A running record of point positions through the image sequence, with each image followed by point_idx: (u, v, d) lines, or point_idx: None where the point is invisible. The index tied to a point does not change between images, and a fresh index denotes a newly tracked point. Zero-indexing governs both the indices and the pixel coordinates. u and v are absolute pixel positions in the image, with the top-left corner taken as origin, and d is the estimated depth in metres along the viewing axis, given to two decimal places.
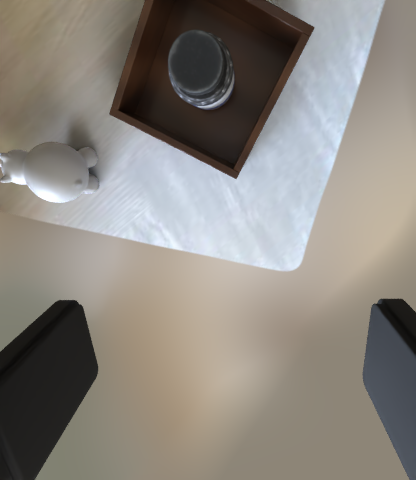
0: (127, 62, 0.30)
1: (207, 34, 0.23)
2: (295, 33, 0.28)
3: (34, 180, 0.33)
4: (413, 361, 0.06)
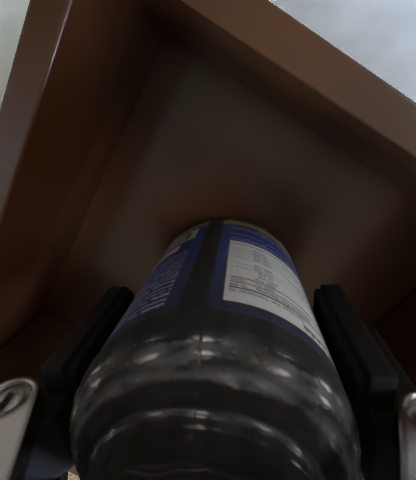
0: None
1: None
2: None
3: None
4: (333, 334, 0.07)
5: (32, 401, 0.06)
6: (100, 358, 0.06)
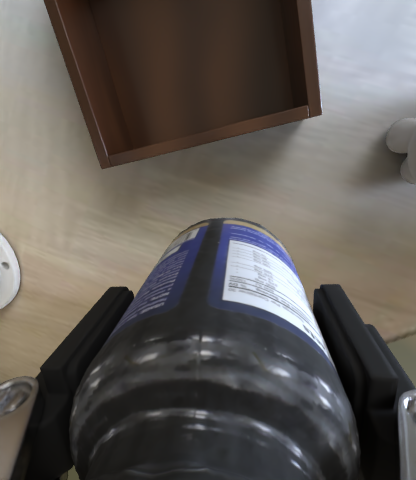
0: (236, 132, 0.19)
1: None
2: None
3: None
4: (333, 334, 0.07)
5: (32, 401, 0.06)
6: (100, 358, 0.06)
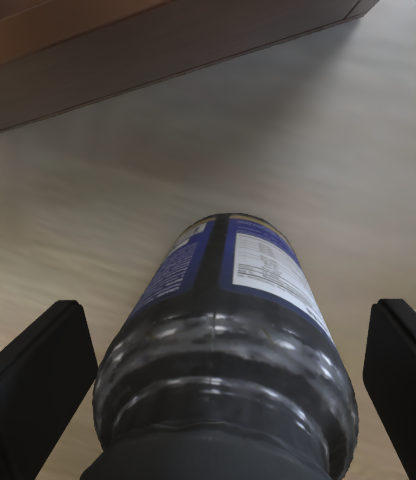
0: None
1: None
2: None
3: None
4: (413, 361, 0.06)
5: None
6: (121, 336, 0.06)
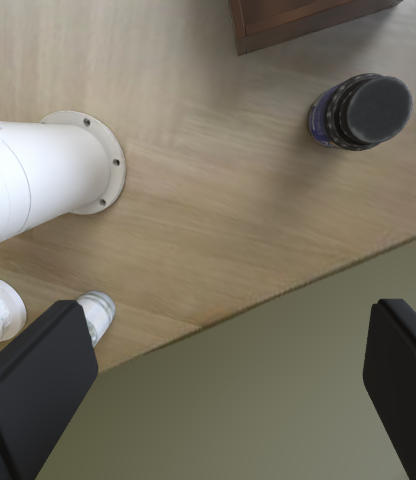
0: None
1: (356, 93, 0.22)
2: None
3: None
4: (413, 361, 0.06)
5: None
6: (340, 85, 0.24)
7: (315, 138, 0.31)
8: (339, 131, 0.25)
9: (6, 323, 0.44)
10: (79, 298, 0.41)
